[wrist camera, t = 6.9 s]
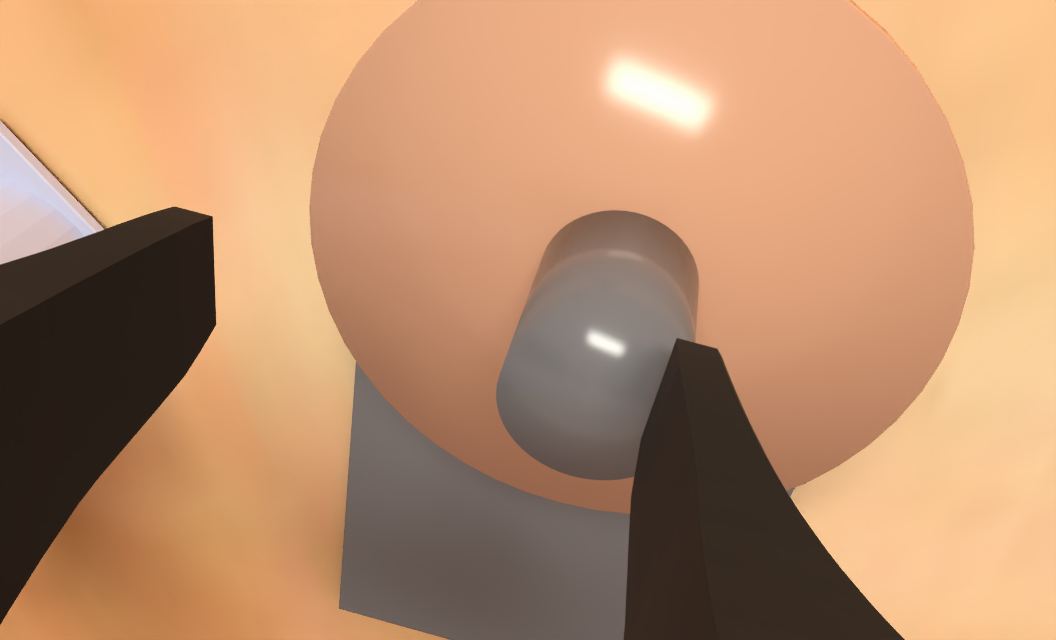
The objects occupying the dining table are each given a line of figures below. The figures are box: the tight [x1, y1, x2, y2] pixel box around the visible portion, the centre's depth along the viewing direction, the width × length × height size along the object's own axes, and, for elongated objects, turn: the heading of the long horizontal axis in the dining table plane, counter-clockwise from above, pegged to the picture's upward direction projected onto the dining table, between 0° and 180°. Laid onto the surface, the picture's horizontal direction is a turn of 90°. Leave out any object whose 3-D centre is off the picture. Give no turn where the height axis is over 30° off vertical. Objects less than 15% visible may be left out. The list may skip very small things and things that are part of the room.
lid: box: [310, 0, 974, 514], centre depth 16 cm, size 13×13×5 cm
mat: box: [339, 361, 795, 640], centre depth 30 cm, size 14×14×1 cm
